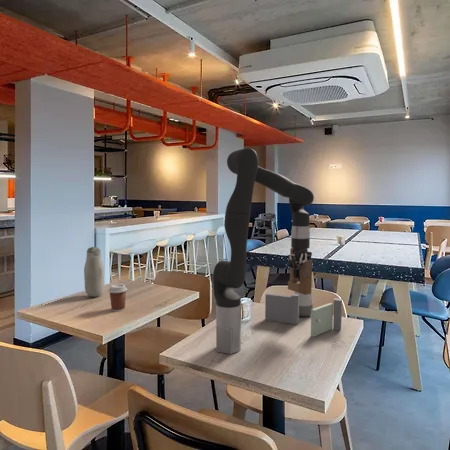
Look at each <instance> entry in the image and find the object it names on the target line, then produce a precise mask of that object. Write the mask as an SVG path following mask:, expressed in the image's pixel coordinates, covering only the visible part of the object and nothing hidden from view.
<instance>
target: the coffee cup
mask: <svg viewBox="0 0 450 450" xmlns="http://www.w3.org/2000/svg"><path fill="white" fill-rule="evenodd" d="M107 291H108V293H109V299H110V305H111V306H110V307H111V311H113V312H121V311H125V309H126V299H127V298H126V295H127V294H126V293H127V291H128V288H127V287H126V285H125V284H123V283H122V284H121V283H116V284H112V285H110V286H109V288H108V290H107Z"/></svg>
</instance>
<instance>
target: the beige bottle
mask: <svg viewBox="0 0 450 450" xmlns="http://www.w3.org/2000/svg"><path fill="white" fill-rule="evenodd" d="M103 263H104V261H103V259H102V252H101V249H100V248H99V247H98V246H90V247H88V248H87V250H86V258H85V263H84V268H83V277H84V290H85V293H86V294H87V296H89V297H90V298H98V297H100V296H102V295H103V293H104V290H105V266H104V264H103Z"/></svg>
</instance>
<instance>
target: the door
mask: <svg viewBox="0 0 450 450" xmlns="http://www.w3.org/2000/svg"><path fill="white" fill-rule="evenodd" d="M333 320H334V303H332V302H329V303H328V302H327V303H326V304H323V305H320V306H317V307H314V308H313V309H311V315H310V336H311V337H314V338H315V337H318V335H321V334H324V333H326V332H328V331H330V330H333Z"/></svg>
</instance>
